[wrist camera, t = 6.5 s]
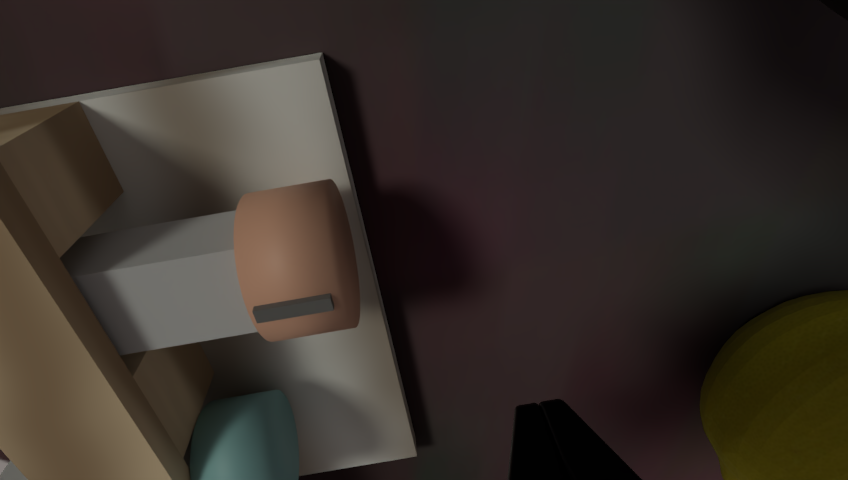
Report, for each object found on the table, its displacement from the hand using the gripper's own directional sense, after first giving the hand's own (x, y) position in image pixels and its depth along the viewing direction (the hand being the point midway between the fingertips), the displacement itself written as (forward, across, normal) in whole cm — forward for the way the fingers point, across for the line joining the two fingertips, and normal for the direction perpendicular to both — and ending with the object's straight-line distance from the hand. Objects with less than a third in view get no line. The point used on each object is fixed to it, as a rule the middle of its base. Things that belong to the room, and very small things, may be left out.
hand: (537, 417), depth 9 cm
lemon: (+11, -13, +10) cm, 20 cm away
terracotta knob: (+9, +9, 0) cm, 13 cm away
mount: (+10, +9, +4) cm, 14 cm away
